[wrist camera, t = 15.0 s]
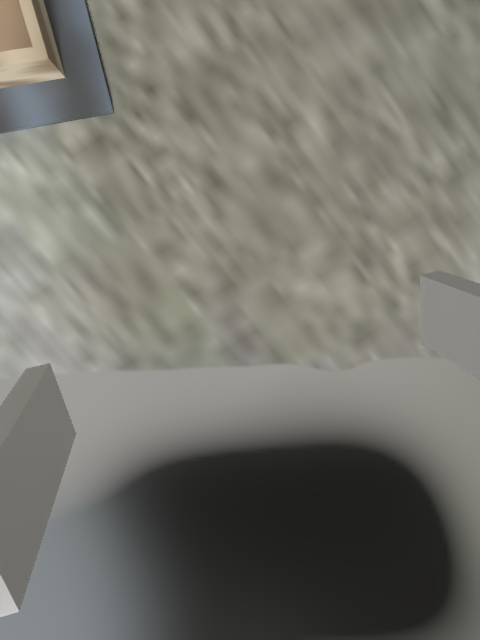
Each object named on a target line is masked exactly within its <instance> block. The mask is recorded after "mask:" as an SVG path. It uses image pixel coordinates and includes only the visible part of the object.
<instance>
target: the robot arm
mask: <svg viewBox="0 0 480 640" xmlns="http://www.w3.org/2000/svg"><path fill="white" fill-rule="evenodd" d="M420 292H421V314H422V336H423V345H425V346H426V347H428V348H429V349H431V350H432V351H434V352H436V353H437V354H439V355H440V356H442V357H444V358H445V359H447V360H448V361H450V362H452V363H453V364H455V365H457V366H458V367H460V368H461V369H463V370H465V371H466V372H468V373H469V374H471V375H472V376H474V377H476V378H477V379H479V380H480V284H479V283H476V282H473V281H470V280H467V279H464V278H460V277H457V276H454V275H451V274H448V273H445V272H442V271H435V272H431V273H427V274H423V275H420ZM75 435H76V432H75V430H74V427H73V424H72V421H71V419H70V416H69V413H68V410H67V408H66V405H65V403H64V400H63V397H62V394H61V392H60V389H59V386H58V384H57V381H56V378H55V375H54V373H53V370H52V367H51V365H50V363H49V364H45V365H40V366H36V367H32V368H28V369H26V370H25V371H24V373H23V374H22V376H21V377H20V378H19V380H18V381H17V383H16V384H15V386H14V387H13V389H12V391H11V392H10V393H9V394H8V396H7V397H6V399H5V400H4V402H3V403H2V405H1V406H0V617H3V616H6V615H9V614H13V613H16V612H19V611H20V607H21V604H22V601H23V598H24V595H25V592H26V589H27V586H28V583H29V580H30V576H31V573H32V570H33V567H34V564H35V561H36V558H37V554H38V551H39V548H40V545H41V542H42V539H43V536H44V533H45V529H46V526H47V523H48V520H49V517H50V514H51V511H52V507H53V504H54V501H55V498H56V495H57V492H58V489H59V485H60V482H61V479H62V476H63V473H64V470H65V467H66V464H67V460H68V457H69V454H70V451H71V448H72V445H73V442H74V439H75Z"/></svg>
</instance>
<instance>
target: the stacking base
mask: <svg viewBox="0 0 480 640" xmlns="http://www.w3.org/2000/svg"><path fill="white" fill-rule="evenodd" d="M112 113H114V110H113V107H112V103H111V99H110V95H109V91H108V87H107V83H106V79H105V76H104V72H103V68H102V64H101V60H100V56H99V52H98V48H97V44H96V41H95V37H94V33H93V29H92V25H91V21H90V17H89V13H88V9H87V6H86V2H85V0H0V133H5V132H11V131H17V130H22V129H28V128H34V127H39V126H45V125H51V124H56V123H62V122H67V121H73V120H79V119H84V118H90V117H96V116H101V115H107V114H112Z"/></svg>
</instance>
